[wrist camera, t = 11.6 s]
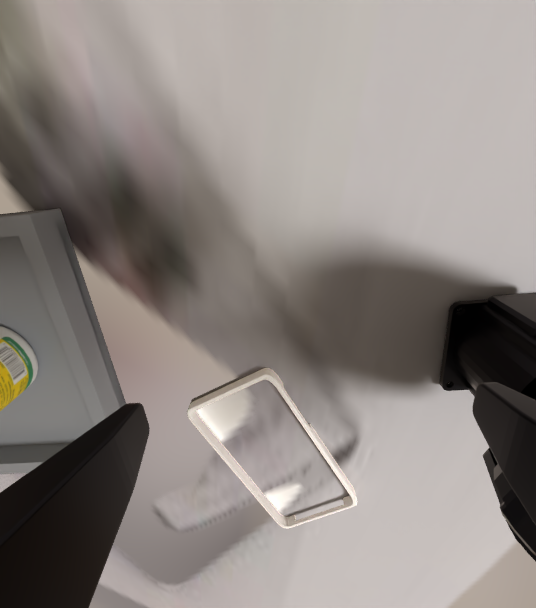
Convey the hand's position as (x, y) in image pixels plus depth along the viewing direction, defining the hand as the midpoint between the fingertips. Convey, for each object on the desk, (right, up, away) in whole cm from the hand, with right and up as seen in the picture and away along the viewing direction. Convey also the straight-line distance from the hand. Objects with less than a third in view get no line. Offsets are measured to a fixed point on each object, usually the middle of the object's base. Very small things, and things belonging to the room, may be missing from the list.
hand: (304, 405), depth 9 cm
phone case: (0, -9, +18) cm, 20 cm away
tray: (-19, 0, +14) cm, 24 cm away
